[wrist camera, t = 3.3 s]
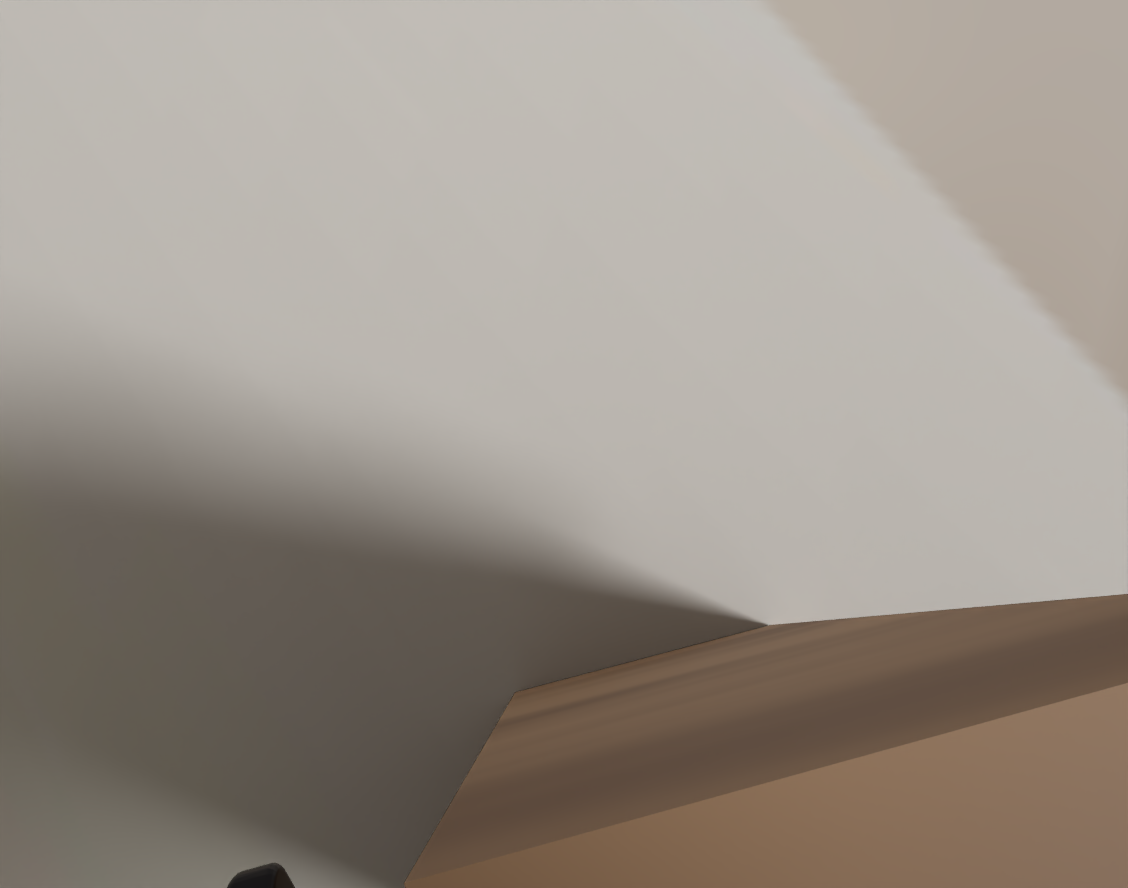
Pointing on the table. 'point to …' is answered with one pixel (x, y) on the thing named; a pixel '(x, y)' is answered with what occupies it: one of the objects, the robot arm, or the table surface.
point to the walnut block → (816, 761)
